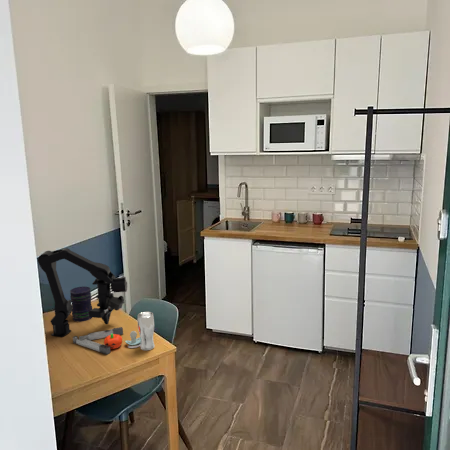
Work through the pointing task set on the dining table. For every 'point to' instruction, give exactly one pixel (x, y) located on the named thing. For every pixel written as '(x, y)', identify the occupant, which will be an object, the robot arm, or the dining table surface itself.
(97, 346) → the tong base
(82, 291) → the storage jar
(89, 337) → the tong leg
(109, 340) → the pumpkin
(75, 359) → the dining table surface
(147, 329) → the silver drink can
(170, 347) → the dining table surface
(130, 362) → the dining table surface
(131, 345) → the pacifier
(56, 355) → the dining table surface
